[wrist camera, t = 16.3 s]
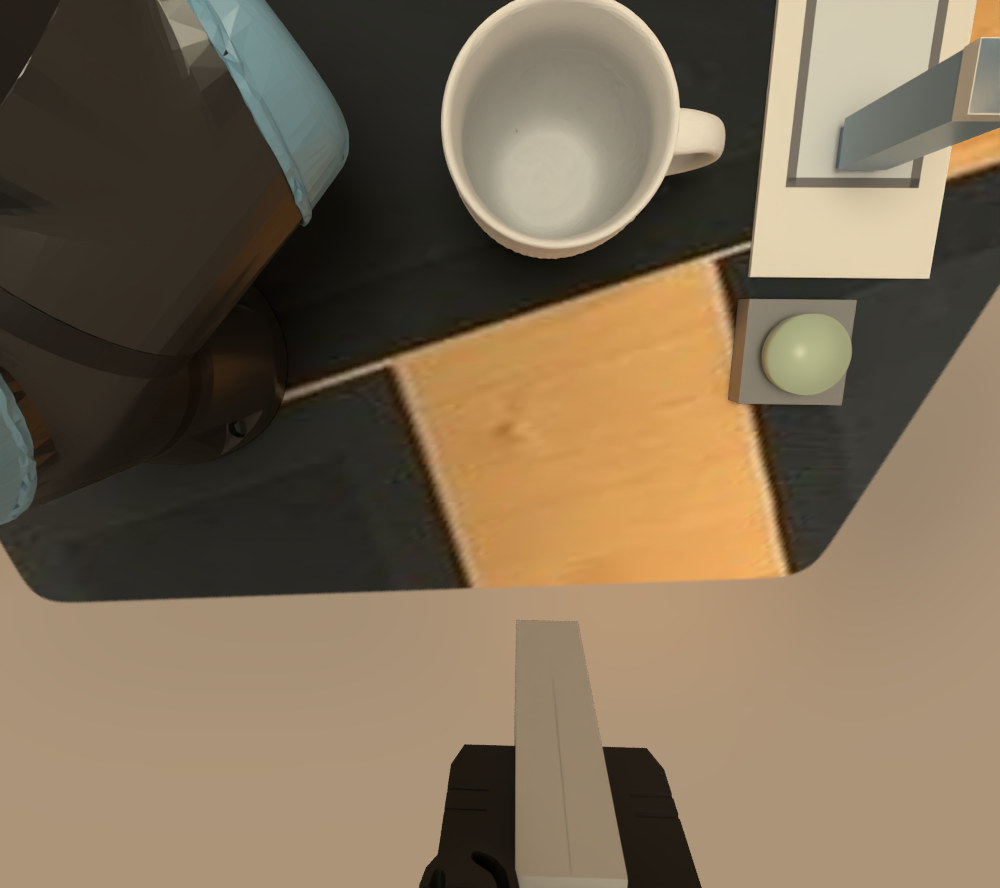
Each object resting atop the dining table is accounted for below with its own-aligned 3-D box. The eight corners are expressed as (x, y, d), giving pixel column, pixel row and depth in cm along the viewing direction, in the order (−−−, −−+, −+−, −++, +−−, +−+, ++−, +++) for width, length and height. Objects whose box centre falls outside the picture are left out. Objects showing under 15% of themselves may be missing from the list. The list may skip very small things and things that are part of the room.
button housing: (728, 399, 42) (738, 403, 40) (738, 299, 40) (749, 299, 38) (826, 400, 42) (841, 405, 40) (840, 300, 40) (856, 300, 38)
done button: (743, 387, 41) (764, 394, 38) (751, 312, 40) (774, 313, 37) (817, 388, 41) (845, 396, 38) (827, 313, 40) (857, 314, 37)
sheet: (747, 277, 40) (750, 276, 40) (791, -142, 35) (794, -147, 34) (925, 278, 40) (929, 278, 39) (996, -143, 34) (1002, -149, 34)
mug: (685, 79, 37) (772, -40, 25) (687, 257, 40) (767, 232, 27) (456, 102, 38) (426, -2, 25) (471, 275, 41) (451, 260, 28)
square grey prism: (829, 174, 38) (967, 114, 26) (836, 122, 37) (980, 37, 26) (877, 174, 38) (1037, 114, 26) (884, 122, 37) (1053, 37, 26)
